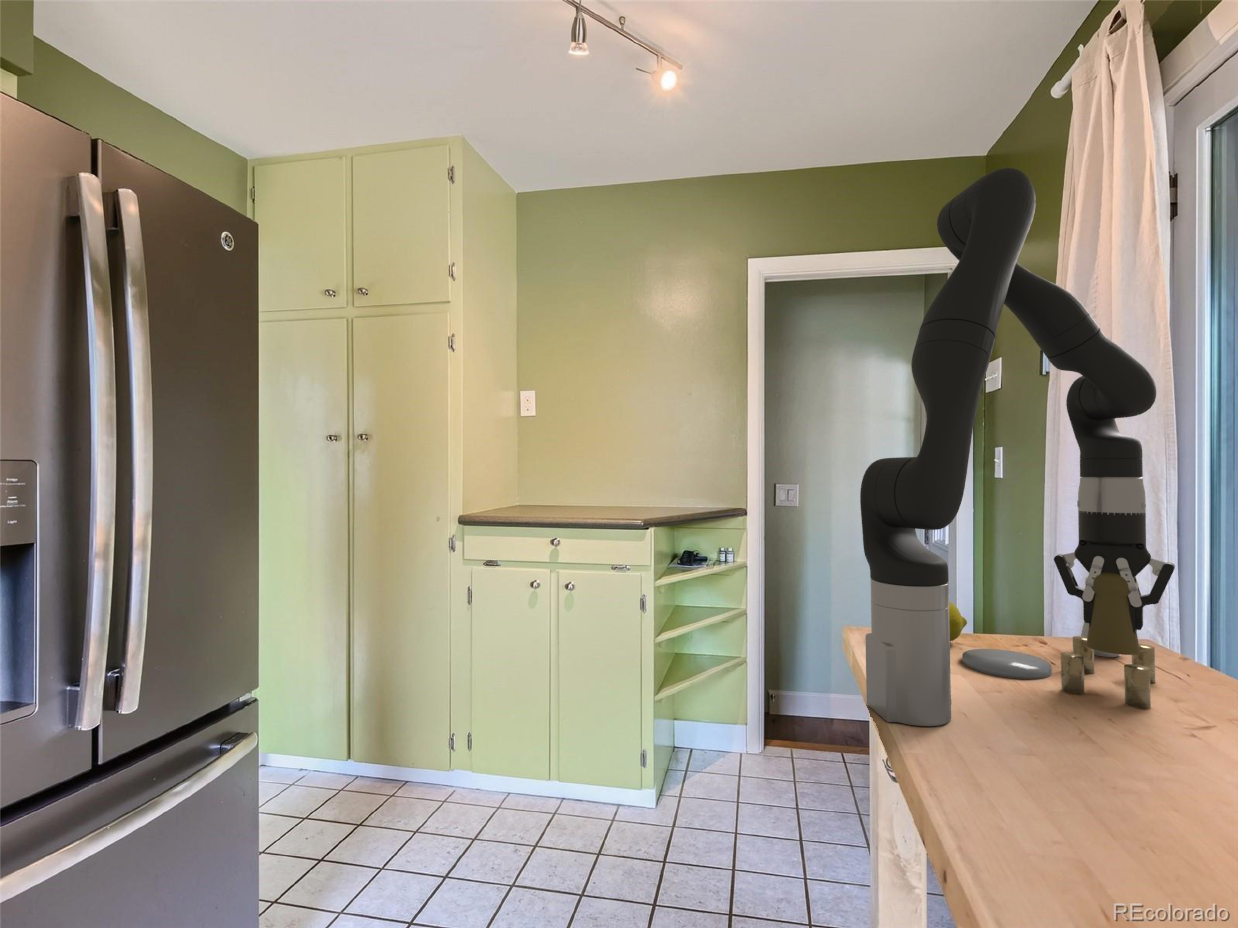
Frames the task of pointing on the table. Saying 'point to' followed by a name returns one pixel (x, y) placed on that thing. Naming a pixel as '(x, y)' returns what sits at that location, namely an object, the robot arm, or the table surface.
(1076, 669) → the cylinder
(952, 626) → the lemon
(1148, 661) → the cylinder
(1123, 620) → the cork
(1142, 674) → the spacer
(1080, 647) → the cylinder
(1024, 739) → the table surface
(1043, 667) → the slate coaster
